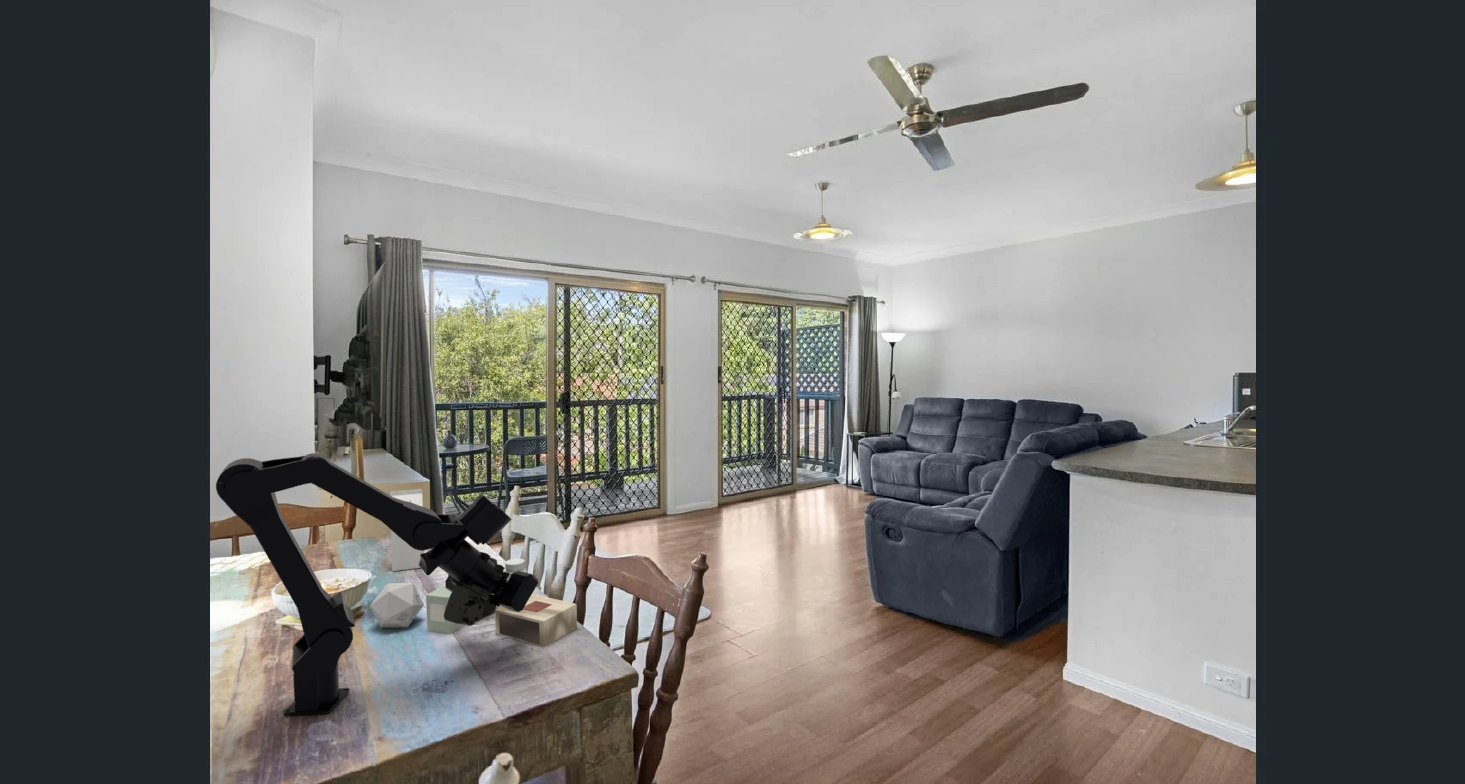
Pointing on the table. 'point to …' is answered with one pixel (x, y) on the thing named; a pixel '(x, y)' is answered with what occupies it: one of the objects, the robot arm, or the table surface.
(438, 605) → the sage block
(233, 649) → the table surface
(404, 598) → the die
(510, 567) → the pill bottle
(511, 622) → the birch block
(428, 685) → the table surface
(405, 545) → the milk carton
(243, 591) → the table surface
